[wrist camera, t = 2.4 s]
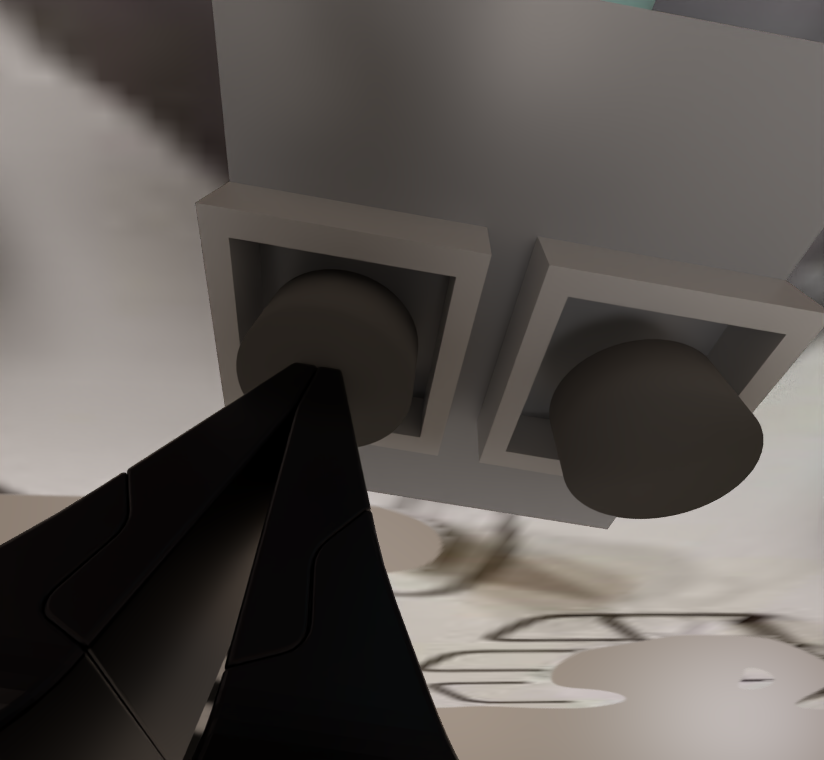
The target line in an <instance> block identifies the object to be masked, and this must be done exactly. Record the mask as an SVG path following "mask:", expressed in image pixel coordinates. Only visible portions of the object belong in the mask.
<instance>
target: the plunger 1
mask: <svg viewBox="0 0 824 760" xmlns="http://www.w3.org/2000/svg"><path fill="white" fill-rule="evenodd" d="M417 355H418V335H417V330H416V327H415V324H414V321H413V319H412V317H411V315H410V313H409V311H408V310H407V308H406V307H405V306H404V304H403V303H402V302H401V301H400V300H399V298H398V297H397V296H396V295H395V294H394V293H392V292H391V291H390V290H389V289H388V288H386V287H385V286H383V285H382V284H380V283H379V282H377V281H375V280H373V279H371V278H369V277H367V276H364V275H361V274H359V273H355V272H351V271H347V270H339V269H322V270H315V271H311V272H307V273H304V274H301V275H299V276H297V277H295V278H293V279H291V280H290V281H288V282H287V283H285V284H284V285H283V286H282V287H281V288H280V289H279V290H278V291H277V293H276V294H275V295H274V296H273V298H272V299H271V301H270V302H269V303H268V305H267V306H266V307H265V309H264V310H263V312H262V313H261V314H260V316H259V317H258V319H257V320H256V321H255V323H254V324H253V326H252V327H251V328H250V330H249V331H248V333H247V334H246V335H245V337H244V339H243V340H242V342H241V344H240V347H239V350H238V353H237V360H236V372H237V377H238V382H239V384H240V387H241V390H242V392H243V394H246V393H247V392H249V391H250V390H252V389H253V388H255V387H257V386H258V385H260V384H261V383H263V382H264V381H266V380H268V379H269V378H271V377H272V376H274V375H275V374H277V373H278V372H280V371H282V370H283V369H285V368H286V367H288V366H289V365H291V364H293V363H295V362H299V363H305V364H311V365H315V366H316V367H317V368H319V367H329V368H335V369H339V370H341V371H342V374H343V379H344V384H345V388H346V393H347V398H348V403H349V408H350V412H351V417H352V422H353V427H354V431H355V436H356V441H357V446H358V447H362V446H365V445H369V444H372V443H374V442H377V441H379V440H381V439H383V438H385V437H386V436H388V435H389V434H391V433H392V432H393V431H394V430H396V428H397V427H398V426H399V425H400V424H401V423H402V422H403V420H404V419H405V417H406V415H407V413H408V411H409V409H410V406H411V402H412V395H413V387H414V379H415V371H416V363H417Z"/></svg>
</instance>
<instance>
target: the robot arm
mask: <svg viewBox="0 0 824 760" xmlns="http://www.w3.org/2000/svg"><path fill="white" fill-rule="evenodd" d="M370 509H371V508H370V503H369V498H368V493H367V489H366V484H365V479H364V474H363V469H362V465H361V460H360V455H359V450H358V446H357V441H356V436H355V431H354V427H353V422H352V417H351V412H350V408H349V403H348V398H347V393H346V388H345V384H344V379H343V374H342V371H341V370H339V369H335V368H329V367H319V368H317V367H316V366H315V365H311V364H305V363H299V362H295V363H293V364H291V365H289V366H288V367H286V368H285V369H283V370H282V371H280V372H278V373H277V374H275V375H274V376H272V377H271V378H269V379H268V380H266V381H264V382H263V383H261V384H260V385H258V386H257V387H255V388H253V389H252V390H250V391H249V392H247V393H246V394H244V395H243V396H241V397H239V398H238V399H236V400H235V401H233V402H232V403H230V404H229V405H227V406H225V407H224V408H222V409H221V410H219V411H218V412H216V413H215V414H213V415H211V416H210V417H208V418H207V419H205V420H204V421H202V422H201V423H199V424H197V425H196V426H194V427H193V428H191V429H190V430H188V431H186V432H185V433H183V434H182V435H180V436H179V437H177V438H176V439H174V440H172V441H171V442H169V443H168V444H166V445H165V446H163V447H162V448H160V449H158V450H157V451H155V452H154V453H152V454H151V455H149V456H148V457H146V458H144V459H143V460H141V461H140V462H138V463H137V464H135V465H134V466H132V467H130V468H129V469H128V470H127V474H126V473H121V474H119V475H118V476H116V477H114V478H113V479H111V480H110V481H108V482H107V483H105V484H104V485H102V486H100V487H99V488H97V489H96V490H94V491H92V492H91V493H89V494H87V495H86V496H84V497H83V498H81V499H79V500H78V501H76V502H74V503H73V504H71V505H70V506H68V507H66V508H65V509H63V510H61V511H60V512H58V513H56V514H55V515H53V516H51V517H50V518H48V519H46V520H44V521H42V522H41V523H39V524H37V525H35V526H33V527H32V528H30V529H29V530H26V531H25V532H23V533H21V534H19V535H18V536H16V537H14V538H12V539H11V540H9V541H7V542H5V543H3V544H2V545H0V760H183V757H184V755H185V753H186V750H187V748H188V745H189V743H190V741H191V738H192V736H193V733H194V731H195V728H196V726H197V724H198V721H199V719H200V716H201V714H202V712H203V709H204V707H205V704H206V702H207V700H208V697H209V695H210V692H211V690H212V687H213V685H214V683H215V680H216V678H217V675H218V673H219V671H220V668H221V666H222V663H223V661H224V658H225V656H226V654H227V651H228V649H229V652H228V655H227V659H226V662H225V671H224V672H223V674H222V677H221V681H220V684H219V688H218V691H217V694H216V697H215V700H214V703H213V707H212V710H211V712H210V715H209V718H208V721H207V724H206V727H205V729H204V732H203V735H202V737H201V739H200V741H199V744H198V746H197V748H196V750H195V753H194V755H193V757H192V759H191V760H459V759H458V757H457V755H456V753H455V751H454V749H453V747H452V745H451V743H450V740H449V738H448V736H447V734H446V732H445V729H444V727H443V725H442V722H441V720H440V717H439V716H438V713H437V710H436V707H435V705H434V702H433V700H432V697H431V695H430V692H429V689H428V687H427V684H426V681H425V678H424V676H423V673H422V670H421V668H420V665H419V662H418V659H417V657H416V654H415V651H414V649H413V646H412V643H411V640H410V638H409V635H408V632H407V630H406V627H405V624H404V621H403V619H402V616H401V613H400V611H399V608H398V605H397V602H396V600H395V597H394V593H393V590H392V587H391V584H390V581H389V578H388V575H387V572H386V569H385V566H384V562H383V558H382V554H381V550H380V546H379V542H378V539H377V534H376V530H375V525H374V521H373V516H372V513H371V511H370ZM229 646H230V648H229Z"/></svg>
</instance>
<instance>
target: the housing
mask: <svg viewBox="0 0 824 760" xmlns="http://www.w3.org/2000/svg"><path fill="white" fill-rule="evenodd" d="M212 6H213V16H214V26H215V37H216V47H217V57H218V68H219V78H220V88H221V99H222V109H223V119H224V130H225V140H226V150H227V161H228V171H229V181H230V182H228V183H227V184H225V185H223V186H222V187H220V188H218V189H217V190H215V191H214V192H212V193H210V194H209V195H207V196H205V197H204V198H202V199H201V200H199V201H197V202H196V203H195V204H196V211H197V218H198V225H199V232H200V239H201V245H202V252H203V259H204V266H205V273H206V280H207V287H208V294H209V301H210V307H211V314H212V321H213V328H214V335H215V342H216V349H217V356H218V363H219V369H220V376H221V383H222V390H223V397H224V404H225V406H227V405H229V404H230V403H232V402H233V401H235V400H236V399H238V398H239V397H241V396H243V395H244V394H243V392H242V390H241V387H240V384H239V382H238V377H237V372H236V360H237V353H238V350H239V347H240V344H241V342H242V340H243V339H244V337H245V335H246V334H247V333H248V331H249V330H250V328H251V327H252V326H253V324H254V323H255V321H256V320H257V319H258V317H259V316H260V314H261V313H262V312H263V310H264V309H265V307H266V306H267V305H268V303H269V302H270V301H271V299H272V298H273V296H274V295H275V294H276V293H277V291H278V290H279V289H280V288H281V287H282V286H283V285H284V284H285V283H287V282H288V281H290V280H291V279H293V278H295V277H297V276H299V275H301V274H304V273H307V272H311V271H315V270H322V269H339V270H347V271H351V272H355V273H359V274H361V275H364V276H367V277H369V278H371V279H373V280H375V281H377V282H379V283H380V284H382V285H383V286H385V287H386V288H388V289H389V290H390V291H391V292H392V293H394V294H395V295H396V296H397V297H398V298H399V300H400V301H401V302H402V303H403V304H404V306H405V307H406V308H407V310H408V311H409V313H410V315H411V317H412V319H413V321H414V324H415V327H416V330H417V335H418V355H417V363H416V371H415V379H414V387H413V395H412V402H411V406H410V409H409V411H408V413H407V415H406V417H405V419H404V420H403V422H402V423H401V424H400V425H399V426H398V427H397V428H396V430H394V431H393V432H392V433H391V434H389V435H388V436H386V437H385V438H383V439H381V440H379V441H377V442H374V443H372V444H369V445H365V446H362V447H358V450H359V455H360V460H361V465H362V469H363V474H364V479H365V484H366V489H367V491H372V492H378V493H384V494H390V495H397V496H403V497H409V498H415V499H422V500H428V501H434V502H440V503H447V504H453V505H459V506H465V507H472V508H478V509H484V510H490V511H496V512H503V513H509V514H515V515H521V516H528V517H534V518H540V519H546V520H553V521H559V522H565V523H571V524H578V525H584V526H590V527H596V528H603V529H608V528H609V526H610V525H611V524H612V522H613V521H614V519H615V518H616V517H615V516H610V515H606V514H603V513H600V512H597V511H595V510H593V509H591V508H589V507H587V506H585V505H584V504H582V503H581V502H580V501H578V500H577V499H576V498H575V497H574V496H573V495H572V494H571V492H570V491H569V489H568V488H567V486H566V483H565V481H564V477H563V473H562V469H561V465H560V461H559V457H558V453H557V449H556V445H555V441H554V437H553V433H552V428H551V424H550V419H549V408H550V402H551V399H552V396H553V394H554V392H555V390H556V388H557V386H558V385H559V383H560V382H561V381H562V379H563V378H564V377H565V376H566V375H567V374H568V373H569V372H570V371H571V370H572V369H573V368H574V367H575V366H576V365H578V364H579V363H580V362H582V361H583V360H585V359H586V358H588V357H589V356H591V355H593V354H595V353H597V352H599V351H601V350H603V349H606V348H608V347H611V346H614V345H617V344H621V343H624V342H629V341H634V340H644V339H662V340H671V341H675V342H680V343H683V344H686V345H688V346H691V347H693V348H695V349H696V350H698V351H700V352H701V353H703V354H704V355H705V356H706V357H707V358H708V359H709V360H710V361H711V362H712V363H713V365H714V366H715V367H716V368H717V370H718V371H719V372H720V373H721V375H722V376H723V377H724V378H725V380H726V381H727V382H728V383H729V385H730V386H731V387H732V388H733V390H734V391H735V392H736V393H737V395H738V396H739V397H740V398H741V400H742V401H743V402H744V404H745V405H746V406H747V407H748V409H749V410H750V411H751V412H752V413H753V411H754V410H755V409H756V408H757V407H758V405H759V404H760V403H761V402H762V401H763V399H764V398H765V397H766V396H767V395H768V393H769V392H770V391H771V390H772V388H773V387H774V386H775V385H776V384H777V382H778V381H779V380H780V379H781V378H782V376H783V375H784V374H785V373H786V372H787V370H788V369H789V368H790V367H791V366H792V364H793V363H794V362H795V361H796V360H797V358H798V357H799V356H800V355H801V354H802V352H803V351H804V350H805V349H806V348H807V346H808V345H809V344H810V343H811V342H812V340H813V339H814V338H815V337H816V336H817V334H818V333H819V332H820V331H821V329H822V328H823V327H824V308H823V307H822V306H821V305H819V304H818V303H816V302H815V301H814V300H812V299H811V298H809V297H808V296H807V295H805V294H804V293H803V292H801V291H800V290H798V289H797V288H796V287H794V286H793V285H792V284H790V283H789V282H787V281H786V279H787V278H788V277H789V275H790V274H791V272H792V271H793V270H794V268H795V267H796V265H797V264H798V263H799V261H800V260H801V259H802V257H803V256H804V254H805V253H806V252H807V250H808V249H809V247H810V246H811V245H812V243H813V242H814V240H815V239H816V238H817V236H818V235H819V233H820V232H821V231H822V229H823V228H824V43H820V42H814V41H809V40H804V39H799V38H794V37H788V36H783V35H778V34H773V33H768V32H763V31H757V30H752V29H747V28H742V27H737V26H731V25H726V24H721V23H716V22H711V21H705V20H700V19H695V18H690V17H685V16H679V15H674V14H669V13H664V12H659V11H654V10H648V9H643V8H638V7H633V6H628V5H622V4H617V3H612V2H607V1H602V0H212Z"/></svg>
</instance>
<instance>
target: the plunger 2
mask: <svg viewBox="0 0 824 760" xmlns="http://www.w3.org/2000/svg"><path fill="white" fill-rule="evenodd" d="M549 419H550V424H551V428H552V433H553V437H554V441H555V445H556V449H557V453H558V457H559V461H560V465H561V469H562V473H563V477H564V481H565V483H566V486H567V488H568V489H569V491H570V492H571V494H572V495H573V496H574V497H575V498H576V499H577V500H578V501H580V502H581V503H582V504H584V505H585V506H587V507H589V508H591V509H593V510H595V511H597V512H600V513H603V514H606V515H610V516H615V517H621V518H630V519H650V518H660V517H667V516H672V515H677V514H681V513H685V512H688V511H691V510H694V509H697V508H700V507H702V506H704V505H707V504H709V503H711V502H713V501H715V500H717V499H719V498H721V497H722V496H724V495H725V494H727V493H729V492H730V491H731V490H733V489H734V488H735V487H737V486H738V485H739V484H740V483H741V482H742V481H743V480H744V479H745V478H746V477H747V476H748V475H749V474H750V473H751V471H752V470H753V469H754V467H755V465H756V464H757V462H758V460H759V458H760V455H761V453H762V448H763V433H762V429H761V426H760V424H759V422H758V420H757V419H756V417H755V416H754V415H753V414H752V412H751V411H750V410H749V409H748V407H747V406H746V405H745V404H744V402H743V401H742V400H741V398H740V397H739V396H738V395H737V393H736V392H735V391H734V390H733V388H732V387H731V386H730V385H729V383H728V382H727V381H726V380H725V378H724V377H723V376H722V375H721V373H720V372H719V371H718V370H717V368H716V367H715V366H714V365H713V363H712V362H711V361H710V360H709V359H708V358H707V357H706V356H705V355H704V354H703V353H701V352H700V351H698V350H696V349H695V348H693V347H691V346H688V345H686V344H683V343H680V342H675V341H671V340H662V339H644V340H634V341H629V342H624V343H621V344H617V345H614V346H611V347H608V348H606V349H603V350H601V351H599V352H597V353H595V354H593V355H591V356H589V357H588V358H586V359H585V360H583V361H582V362H580V363H579V364H578V365H576V366H575V367H574V368H573V369H572V370H571V371H570V372H569V373H568V374H567V375H566V376H565V377H564V378H563V379H562V381H561V382H560V383H559V385H558V386H557V388H556V390H555V392H554V394H553V396H552V399H551V402H550V408H549Z"/></svg>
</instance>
